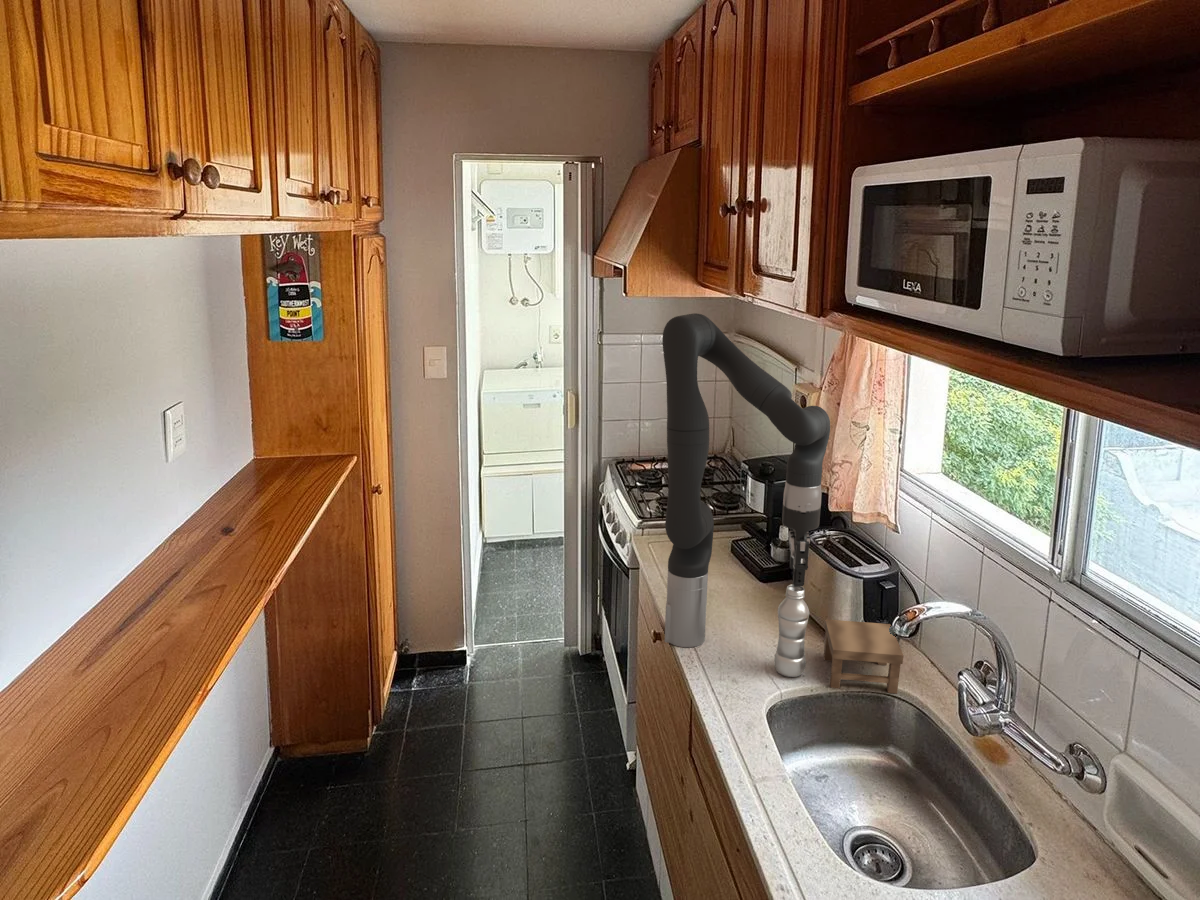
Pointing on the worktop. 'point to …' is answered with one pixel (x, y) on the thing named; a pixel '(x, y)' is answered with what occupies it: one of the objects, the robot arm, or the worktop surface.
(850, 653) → the walnut stool
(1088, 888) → the worktop surface
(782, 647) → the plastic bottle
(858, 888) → the worktop surface
